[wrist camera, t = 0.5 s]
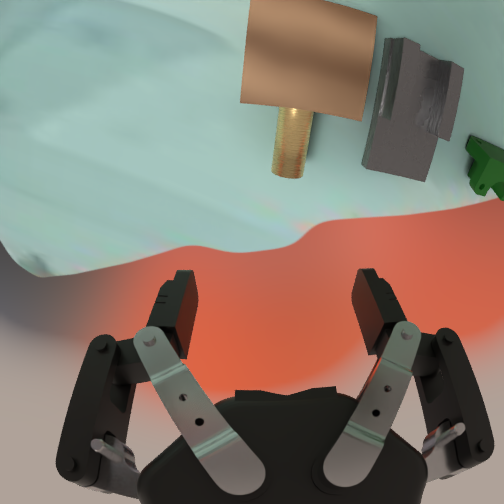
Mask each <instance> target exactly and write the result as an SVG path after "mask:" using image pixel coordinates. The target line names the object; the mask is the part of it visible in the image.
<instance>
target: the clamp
mask: <svg viewBox="0 0 504 504" xmlns="http://www.w3.org/2000/svg"><path fill="white" fill-rule="evenodd" d="M466 150H467V152H468V153H469V154H470V155H471V156H472V157H473V158H474V159H475V161H474V163H473V165H472V167H471V169H470V171H469V173H468V176H469V178H470V186H471V188H472V189H473V190H474V192H475V193H476V194H478V195H482V196H485V195H486V193H487V191H488V190H489V189H490V187H491V188H492V189H493V190H494V192H495V193H496V195H497V196H498V197H499V199H500V200H502V201H504V150H503V149H501V148H499V147H496V146H494V145H492V144H490V143H488V142H486V141H483V140H481V139H479V138H476V137H474V136H471V137H470V139H469V142H468V144H467V146H466Z"/></svg>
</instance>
